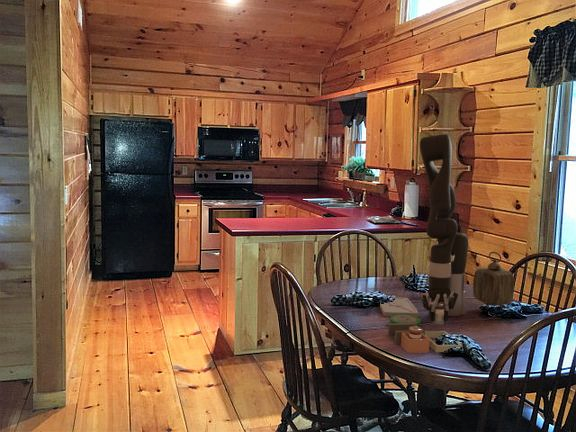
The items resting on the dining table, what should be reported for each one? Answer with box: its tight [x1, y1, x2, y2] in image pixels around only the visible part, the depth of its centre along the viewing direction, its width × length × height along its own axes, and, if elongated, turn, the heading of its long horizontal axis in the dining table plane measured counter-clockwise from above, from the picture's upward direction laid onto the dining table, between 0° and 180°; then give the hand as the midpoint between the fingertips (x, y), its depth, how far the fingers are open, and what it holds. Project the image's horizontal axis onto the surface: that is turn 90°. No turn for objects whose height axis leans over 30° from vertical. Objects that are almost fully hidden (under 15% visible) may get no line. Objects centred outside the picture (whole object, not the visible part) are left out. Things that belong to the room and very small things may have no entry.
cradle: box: [387, 323, 426, 346], centre depth 188 cm, size 10×11×5 cm
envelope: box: [379, 296, 420, 318], centre depth 226 cm, size 24×2×14 cm
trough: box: [425, 330, 463, 353], centre depth 183 cm, size 9×14×3 cm, turn 8°
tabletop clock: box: [472, 251, 515, 310], centre depth 222 cm, size 14×9×25 cm, turn 20°
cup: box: [400, 332, 430, 354], centre depth 178 cm, size 7×7×5 cm
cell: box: [432, 302, 445, 325], centre depth 193 cm, size 4×4×8 cm
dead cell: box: [409, 326, 423, 339], centre depth 178 cm, size 4×4×8 cm
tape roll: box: [389, 315, 421, 328], centre depth 204 cm, size 11×11×3 cm
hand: (438, 320), depth 194 cm, fingers closed on cell, 4 cm apart
